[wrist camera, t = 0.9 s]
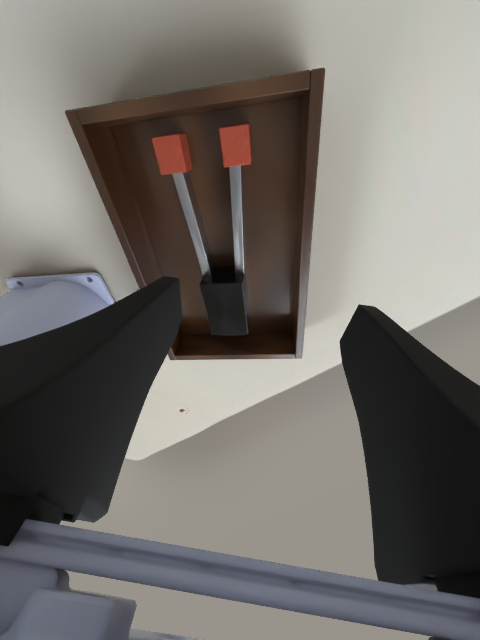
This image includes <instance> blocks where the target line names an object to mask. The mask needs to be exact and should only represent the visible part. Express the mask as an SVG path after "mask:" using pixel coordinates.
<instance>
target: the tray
mask: <svg viewBox="0 0 480 640" xmlns="http://www.w3.org/2000/svg"><path fill="white" fill-rule="evenodd" d="M324 77H325V68H319V69H313V70H311V71H310V70H306V71H300V72H294V73H288V74H282V75H276V76H270V77H264V78H258V79H252V80H246V81H240V82H234V83H228V84H222V85H216V86H210V87H204V88H198V89H192V90H186V91H180V92H174V93H168V94H162V95H156V96H150V97H144V98H138V99H132V100H126V101H120V102H114V103H108V104H102V105H96V106H90V107H84V108H78V109H73V110H67V111H65V114H66V116H67V118H68V121H69V123H70V126H71V128H72V130H73V133H74V135H75V137H76V140H77V142H78V144H79V147H80V149H81V151H82V154H83V156H84V158H85V161H86V163H87V165H88V168H89V170H90V173H91V175H92V177H93V180H94V182H95V184H96V187H97V189H98V191H99V194H100V196H101V198H102V201H103V203H104V205H105V208H106V210H107V213H108V215H109V217H110V220H111V222H112V224H113V227H114V229H115V231H116V234H117V236H118V238H119V241H120V243H121V245H122V248H123V250H124V253H125V255H126V257H127V260H128V262H129V264H130V267H131V269H132V271H133V274H134V276H135V278H136V281H137V283H138V285H139V288H140V289H141V288H143V287H145V286H147V285H148V284H150V283H152V282H154V281H156V280H157V279H159V278H161V277H163V276H169V277H176V278H179V279H180V292H181V305H182V320H181V323H180V326H179V329H178V332H177V335H176V338H175V340H174V342H173V344H172V346H171V348H170V350H169V352H168V356H169V358H170V360H212V359H293V358H302V353H303V341H304V328H305V316H306V303H307V290H308V278H309V265H310V253H311V240H312V228H313V215H314V202H315V190H316V177H317V165H318V152H319V140H320V127H321V114H322V102H323V89H324ZM247 123H248V124H250V129H251V145H252V163H251V164H250V165H243V192H244V231H245V269H246V279H247V289H248V298H249V308H250V322H249V334H246V335H223V336H222V335H211V331H210V327H209V323H208V319H207V314H206V310H205V306H204V302H203V298H202V294H201V290H200V286H199V284H200V282H201V280H202V277H203V274H202V271H201V268H200V264H199V261H198V258H197V255H196V251H195V248H194V245H193V241H192V238H191V235H190V232H189V228H188V225H187V222H186V218H185V215H184V212H183V208H182V205H181V202H180V199H179V195H178V192H177V189H176V185H175V182H174V179H173V176H172V174H167V175H161V173H160V169H159V165H158V161H157V158H156V154H155V150H154V147H153V143H152V139H151V138H152V137H156V136H163V135H170V134H177V133H186V136H187V141H188V146H189V152H190V157H191V162H192V167H193V169H191V170H189V173H190V177H191V181H192V184H193V188H194V192H195V196H196V200H197V203H198V207H199V211H200V215H201V218H202V222H203V226H204V230H205V234H206V237H207V241H208V245H209V249H210V253H211V256H212V260H213V264H214V267H225V266H235V263H234V245H233V227H232V209H231V191H230V173H229V167H224V165H223V157H222V149H221V141H220V134H219V128H220V127H226V126H233V125H240V124H247Z"/></svg>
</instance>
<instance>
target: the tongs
mask: <svg viewBox="0 0 480 640" xmlns="http://www.w3.org/2000/svg"><path fill="white" fill-rule="evenodd" d="M219 134H220V141H221V149H222V157H223V165H224V167H229V173H230V191H231V209H232V227H233V245H234V263H235V266H225V267H214V264H213V260H212V256H211V253H210V249H209V245H208V241H207V237H206V234H205V230H204V226H203V222H202V218H201V215H200V211H199V207H198V203H197V200H196V196H195V192H194V188H193V184H192V181H191V177H190V173H189V170H191V169H193V167H192V162H191V157H190V152H189V146H188V141H187V136H186V133H177V134H170V135H163V136H156V137H152V138H151V139H152V143H153V147H154V150H155V154H156V158H157V161H158V165H159V169H160V173H161V175H167V174H172V176H173V179H174V182H175V185H176V189H177V192H178V195H179V199H180V202H181V205H182V208H183V212H184V215H185V218H186V222H187V225H188V228H189V232H190V235H191V238H192V241H193V245H194V248H195V251H196V255H197V258H198V261H199V264H200V268H201V271H202V274H203V277H202V280H201V282H200V284H199V286H200V290H201V294H202V298H203V302H204V306H205V310H206V314H207V319H208V323H209V327H210V331H211V335H222V336H223V335H246V334H249V322H250V308H249V298H248V289H247V279H246V269H245V231H244V192H243V165H250V164H251V163H252V145H251V129H250V124H248V123H247V124H240V125H233V126H226V127H220V128H219Z"/></svg>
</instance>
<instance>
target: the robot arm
mask: <svg viewBox="0 0 480 640" xmlns="http://www.w3.org/2000/svg"><path fill="white" fill-rule="evenodd" d="M89 277H90V278H91V279H92V280H91V279H90V278H89ZM5 282H6V284H7V286H8V287H9V288H10V289H11V290H10V291H9V292H7V293H6V294H4V295H2V296H1V297H0V640H204V639H197V638H191V637H184V636H177V635H171V634H163V633H157V632H150V631H143V630H137V629H130V627H131V623H132V620H133V617H134V613H135V610H136V606H137V605H136V602H135V601H134V600H130V599H125V598H121V597H116V596H111V595H106V594H101V593H94V592H87V591H79V590H71V589H70V587H69V575H68V573H67V572H66V571H65V570H68V571H73V572H78V573H84V574H89V575H95V576H100V577H106V578H111V579H117V580H123V581H128V582H134V583H140V584H145V585H150V586H156V587H161V588H167V589H172V590H178V591H183V592H189V593H194V594H200V595H206V596H212V597H217V598H222V599H228V600H233V601H239V602H244V603H250V604H256V605H261V606H266V607H272V608H277V609H283V610H289V611H295V612H300V613H306V614H311V615H316V616H322V617H327V618H333V619H338V620H344V621H350V622H355V623H361V624H367V625H372V626H377V627H383V628H388V629H394V630H400V631H405V632H410V633H416V634H421V635H427V636H433V637H430V638H429V639H428V640H480V386H479V385H477V384H476V383H474V382H473V381H471V380H470V379H468V378H467V377H465V376H464V375H462V374H461V373H460V372H458V371H457V370H455V369H454V368H452V367H451V366H450V365H448V364H447V363H446V362H444V361H443V360H442V359H440V358H439V357H437V356H436V355H435V354H434V353H432V352H431V351H430V350H429V349H427V348H426V347H425V346H423V345H422V344H421V343H419V341H417V340H416V339H415V338H414V337H412V336H411V335H410V334H409V333H408V332H406V331H405V330H404V329H403V328H401V327H400V326H399V325H398V324H397V323H395V322H394V321H393V320H392V319H391V318H389V317H388V316H387V315H385V314H384V313H383V312H382V311H380V310H379V309H377V308H376V307H373V306H366V305H358V307H357V309H356V311H355V313H354V315H353V317H352V319H351V321H350V322H349V324H348V326H347V328H346V330H345V332H344V334H343V336H342V338H341V340H340V349H341V357H342V363H343V367H344V371H345V375H346V378H347V382H348V385H349V389H350V392H351V396H352V399H353V402H354V406H355V410H356V413H357V417H358V421H359V426H360V431H361V437H362V443H363V449H364V455H365V463H366V470H367V477H368V486H369V495H370V504H371V514H372V528H373V542H374V561H375V568H376V572H377V577H378V581H376V580H371V579H365V578H360V577H354V576H348V575H342V574H336V573H331V572H325V571H320V570H314V569H308V568H303V567H297V566H291V565H286V564H280V563H274V562H269V561H263V560H256V559H251V558H245V557H240V556H234V555H228V554H223V553H217V552H211V551H205V550H200V549H194V548H189V547H183V546H177V545H172V544H166V543H160V542H155V541H149V540H143V539H138V538H132V537H126V536H121V535H115V534H109V533H103V532H98V531H92V530H86V529H80V528H75V527H69V526H64V525H59V524H60V522H61V520H63V521H69V522H75V521H76V520H82V521H88V522H93V523H94V522H96V521H97V520H99V519H100V518H102V517H103V516H104V515H105V514H106V513H107V512H108V509H109V505H110V502H111V499H112V496H113V492H114V489H115V486H116V483H117V479H118V476H119V473H120V469H121V467H122V464H123V460H124V458H125V455H126V452H127V449H128V446H129V443H130V440H131V437H132V434H133V432H134V429H135V426H136V423H137V421H138V418H139V415H140V412H141V410H142V407H143V405H144V402H145V399H146V397H147V394H148V392H149V389H150V387H151V385H152V383H153V381H154V379H155V377H156V375H157V373H158V371H159V369H160V367H161V365H162V363H163V361H164V359H165V357H166V355H167V354H168V352H169V350H170V348H171V346H172V344H173V342H174V340H175V338H176V335H177V332H178V329H179V326H180V323H181V320H182V305H181V292H180V279H179V278H176V277H169V276H163V277H161V278H159V279H157V280H156V281H154V282H152V283H150V284H148V285H147V286H145V287H143V288H141V289H140V290H138V291H136V292H134V293H132V294H131V295H129V296H127V297H125V298H123V299H121V300H119V301H117V302H114V300H113V298H112V296H111V294H110V292H109V290H108V288H107V286H106V284H105V283H104V281H103V279H102V277H101V275H99V274H98V273H96V272H91V273H76V274H60V275H45V276H30V277H15V278H8V279H7V280H6V281H5Z"/></svg>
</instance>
